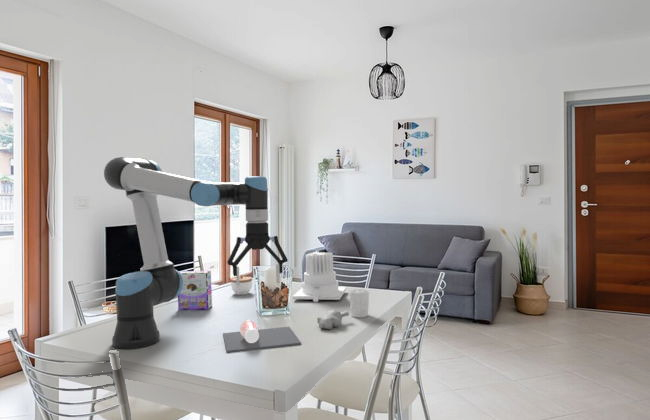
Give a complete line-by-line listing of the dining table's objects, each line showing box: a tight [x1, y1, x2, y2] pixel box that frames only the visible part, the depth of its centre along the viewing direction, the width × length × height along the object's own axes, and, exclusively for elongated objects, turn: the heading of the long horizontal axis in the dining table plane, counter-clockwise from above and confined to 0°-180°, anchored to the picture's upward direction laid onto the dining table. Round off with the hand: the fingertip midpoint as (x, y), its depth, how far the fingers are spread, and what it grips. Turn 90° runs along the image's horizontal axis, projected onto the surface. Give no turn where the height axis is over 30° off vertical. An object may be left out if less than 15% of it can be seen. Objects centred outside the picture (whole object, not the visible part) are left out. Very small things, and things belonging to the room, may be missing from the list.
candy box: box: [177, 270, 213, 311], centre depth 209 cm, size 14×6×16 cm, turn 84°
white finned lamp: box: [292, 251, 347, 303], centre depth 226 cm, size 25×22×21 cm
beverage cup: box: [239, 319, 259, 343], centre depth 160 cm, size 6×6×14 cm
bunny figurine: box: [316, 309, 350, 330], centre depth 177 cm, size 10×5×15 cm
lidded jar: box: [230, 274, 253, 296], centre depth 238 cm, size 11×11×9 cm
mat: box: [222, 326, 302, 354], centre depth 162 cm, size 20×24×1 cm
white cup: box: [349, 288, 370, 319], centre depth 190 cm, size 8×8×10 cm
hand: (258, 284), depth 161 cm, fingers open, 13 cm apart
